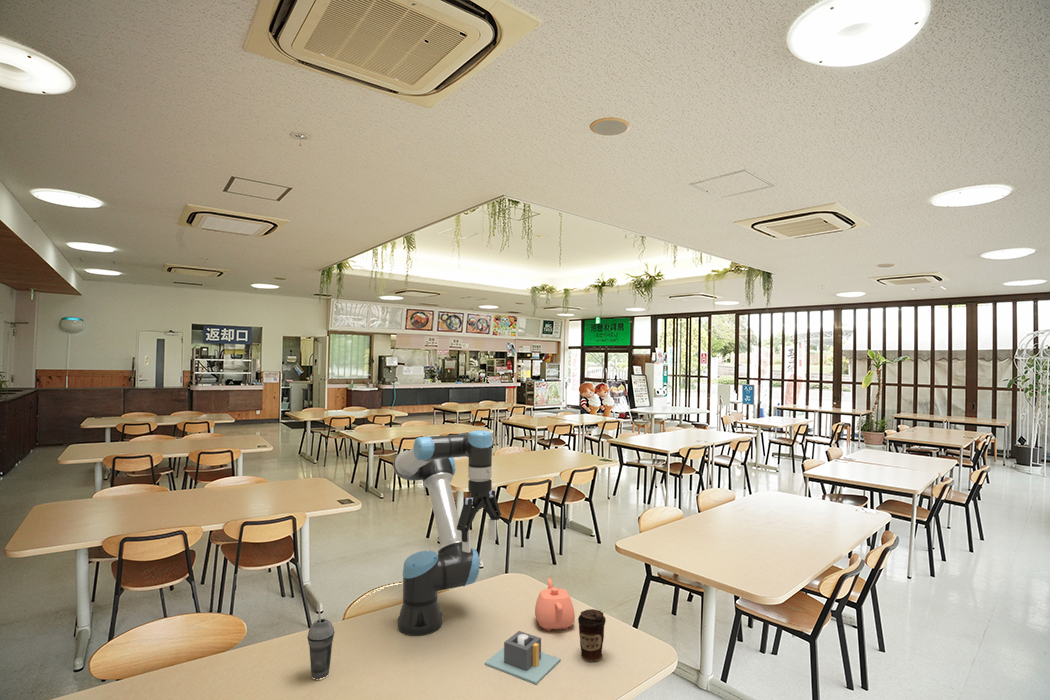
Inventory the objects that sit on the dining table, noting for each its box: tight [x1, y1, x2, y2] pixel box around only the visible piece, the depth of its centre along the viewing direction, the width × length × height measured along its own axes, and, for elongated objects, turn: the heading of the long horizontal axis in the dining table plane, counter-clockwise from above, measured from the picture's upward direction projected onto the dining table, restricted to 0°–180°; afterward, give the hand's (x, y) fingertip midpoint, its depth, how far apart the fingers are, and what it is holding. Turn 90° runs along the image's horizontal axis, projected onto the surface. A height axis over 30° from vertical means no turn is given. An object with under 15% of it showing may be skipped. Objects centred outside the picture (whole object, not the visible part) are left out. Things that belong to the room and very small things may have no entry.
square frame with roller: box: [503, 630, 542, 671], centre depth 155 cm, size 9×8×6 cm
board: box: [484, 634, 562, 685], centre depth 155 cm, size 18×14×8 cm
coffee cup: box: [577, 608, 606, 663], centre depth 159 cm, size 9×8×13 cm
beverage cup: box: [306, 603, 335, 679], centre depth 149 cm, size 7×7×20 cm
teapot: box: [534, 577, 576, 632], centre depth 179 cm, size 13×20×12 cm, turn 8°
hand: (479, 545), depth 168 cm, fingers open, 13 cm apart
